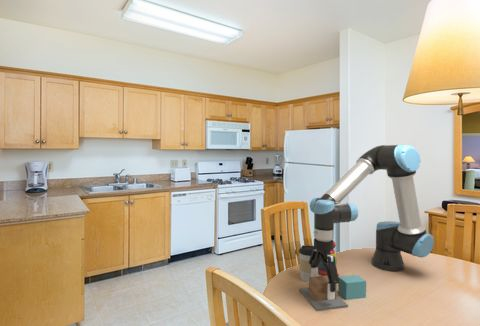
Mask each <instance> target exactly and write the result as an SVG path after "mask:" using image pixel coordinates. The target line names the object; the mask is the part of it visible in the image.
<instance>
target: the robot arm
mask: <svg viewBox="0 0 480 326" xmlns="http://www.w3.org/2000/svg"><path fill="white" fill-rule="evenodd" d="M420 164H421V155H420V153H419V151H418V150H417V149H416V148H415V147H413V146H412V145H407V144H391V145H386V144H383V145H382V144H381V145H377V146H375V147H373V148H371V149H369V150H367V151H366V152H364V153H363V154H362V155H360V156H359V158H357V160H356V163H355V164H354V165H353V166H351V168H350V169H349V170H348V171H347V172H346V173H345V174H344V175H343V176H342V177H341V178H339V180H337V181H336V183H334V184H333V185H332V186H331V187H330V188H329V189H328V190H327V191H326V192H325V193H324V194H323V195H322V196H321V197H314V198H312V199H311V201H310V203H309V210H310V211H311V212H312V213H313V215H314V217H313V218H314V219H313V222H314V223H313V227H314V228H313V235H314V236H313V238H314V239H313V245H312V246H313V248H312V253H311V256H310V260H309V264H311V267H312V269H311V277H317V276H319V274H318V264H319V263H320V261H321V262H322V264H323V266H324V267H325V270H326V273H327V276H328V280H329V282H328V294H327V299H328V300H331V299H335V284H337V285H338V284H339V278H338V275H339V273H338V269H337V263H336V264H335V256H330V251H331V250H332V249H333V241H334V240H333V239H334V232H335V231H334V228H335V227H334V225H335V224H340V223H350V222H354V221H356V220H357V219H358V217H359V210H358V208H357V205H355V204H354V203H349V202H346V203H342V201H344V199H345V198H346V197H347V196H348V195H350V193H351V192H352V191H353V190H355V189H356V187H357V186H359V185H360V183H361V182H362V181H364V180H365V179H366V178H367V176H369V175H373V174H374V173H375V172H376V171H379V170H385V171H386V175H387V177H388V178H390V179H391V181H392V187H393V193H394V198H395V203H396V208H397V215H398V219H399V221H390V220H389V221H387V220H386V221H378V223H376V228H375V250H374V253H373V256H372V258H371V265H373V266H374V267H376V268H378V269H380V270H384V271H388V272H401V271H404V269H405V263H404V260H403V256H402V254H401V253H406V254H408V255H411V256H413V257H417V258H422V259H423V258H426V257H428V256H429V255H430V254H431V252H432V250H433V249H434V248H433V247H434V245H435V243H434V242H435V239H434V236H433V235H432V234H430V233H429V232H428V233H427V229H426V226H425V225H424V224H423V223H422V221H421V216H420V210H419V204H418V197H417V193H416V187H415V182H414V176H415V175H416V173H417V170H418V169H419V168H420V166H421V165H420ZM327 262H328V263H327ZM316 267H317V268H316ZM337 273H338V274H337Z"/></svg>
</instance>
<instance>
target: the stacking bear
mask: <svg viewBox="0 0 480 326" xmlns="http://www.w3.org/2000/svg"><path fill="white" fill-rule="evenodd" d="M336 246H337V243H336V242H335V241H334V240H333V249H332V250H331V251H330V256H335V264H336V265H337V259H338V258H337V254H336V251H335V248H336ZM327 263H328V262H327ZM317 268H318V275H320V276H327V273H326V270H325V267H324V266H323V264H322V262H321V261H320V263H319V264H318V267H317ZM337 274H338V277H340V275H339V273H338V272H337Z"/></svg>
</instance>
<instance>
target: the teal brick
mask: <svg viewBox="0 0 480 326" xmlns="http://www.w3.org/2000/svg"><path fill="white" fill-rule="evenodd" d="M338 278H339V284H337V292H338V294H339V295H340V296H341V297H342V298H343V299H344V300H346V301H348V300H357V299H365V298H367V280H366V279H365V278H362V277H361V276H360V275H359V274H354V275H353V274H352V275H342V276H339V277H338Z"/></svg>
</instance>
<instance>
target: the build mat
mask: <svg viewBox="0 0 480 326" xmlns="http://www.w3.org/2000/svg"><path fill="white" fill-rule="evenodd" d="M298 291H299V292H300V294H302V295H303V297H304V298H305V299H306V300H307V301H308V303H310V305H311V306H312V307H313V309H315V311H317V312H318V311H319V312H320V311H327V310H335V309H345V308H349V304H347V303H346V302H345V301H344V299H342V298H341V297H340V296H339V295H337V294H336V299H332V300H323V301H315V300H314V299H313V298H312V297H311V296H310V295H309V287H302V288H298Z"/></svg>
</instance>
